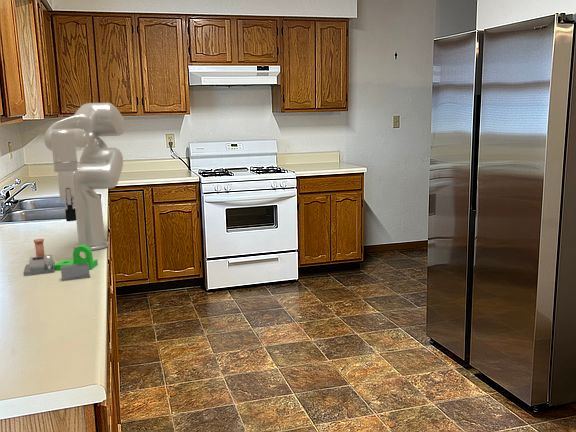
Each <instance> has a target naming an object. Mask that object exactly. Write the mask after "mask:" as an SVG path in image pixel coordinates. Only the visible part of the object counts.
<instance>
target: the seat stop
mask: <svg viewBox="0 0 576 432" xmlns="http://www.w3.org/2000/svg"><path fill="white" fill-rule="evenodd" d="M60 273H61V281H62V282H64V281H71V280H81V279H87V278H90V277H91V276H90V275H91V274H90V270H89V264H88V263H80V264H71V265H63V266H61V270H60Z"/></svg>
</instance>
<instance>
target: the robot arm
mask: <svg viewBox="0 0 576 432" xmlns="http://www.w3.org/2000/svg"><path fill="white" fill-rule="evenodd" d="M125 131H126V123H125V118H124V117H123V115H122V113H121V111H120V110H119V109H118V108H117V107H116V106H115V105H114V104H112V103H110V102H87V103H84V104H81V106H80V107H79V108H77V110H76V112H75V113H74V114H73V115H71V116H68V117H66V118H63V119H61V120H57V121H55V122H53V123H52V124H51V125H50V126H49V127H48V128H47V130H46V131H45V134H44V138H43V141H44V145H45V147H46V148H47V149H48V150H49V151H52V152H51V153H52V160H53V161H52V162H53V172H54V173H57V179H58V180H57V182H58V190H59V201H60V202H63V201H64V203H65V204H64V205H65V209H64V210H65V211H64V212H65V221H66V222H76V230H77V241H78V243H77V244H74V249H75V248H77V247H79V246H81V245H86V246H88V247H89V248H90V249H91V251H95V250H96V251H97V250H103V249H105V248H108V247H110V241H108V240H106V238H105V236H106V235H105V227H104V216H103V205H102V199H101V197H100V196H99V194H98V193H97V192H96V191H95V190H104V189H105V190H107V189H108V190H109V189H114V188H115V187H117V185H118V183H119V179H120V177H121V173H122V170H123V168H124V167H123V166H124V157H123V153H122V152H121V150H120V149H118V148H116V147H108V145H107V143H106V142H104V140H103V139H102V138H100V137H119V136H122V135H124V133H125ZM82 150H83V151H82ZM77 151H82V152H81V155H80V159H79V162H78V153H77ZM78 163H79V164H78Z"/></svg>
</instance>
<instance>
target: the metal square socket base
mask: <svg viewBox="0 0 576 432" xmlns="http://www.w3.org/2000/svg"><path fill="white" fill-rule="evenodd" d="M53 260H54V259H53V255H52V254H47V255H45V256H40V257H36V256H33V257H32V256H31V257H30V258H29V261H28V264H25V267H24V269H23V277H25V276H26V277H28V276H34V275H35V276H36V275H42V274H51V273H55V268H54V265H55V264H56V261H53Z"/></svg>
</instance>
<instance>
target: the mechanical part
mask: <svg viewBox="0 0 576 432" xmlns="http://www.w3.org/2000/svg"><path fill="white" fill-rule="evenodd" d="M80 253H84V255H85V257H82V256H81V255H80ZM72 257H73V259H69V260H61V261H59V262H57V263H55V265H54V268H55V271H57V272H58V271H61V266H63V265H71V264H80V263H88V264H89V271H90V270H91V271H92V270H93V269H94V268H95V267H97V266H98V259H93V250H91V249H90V248H89V247H88V246H86V245H81V246H79V247H77V248H75V247H74V249H73V251H72Z"/></svg>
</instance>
